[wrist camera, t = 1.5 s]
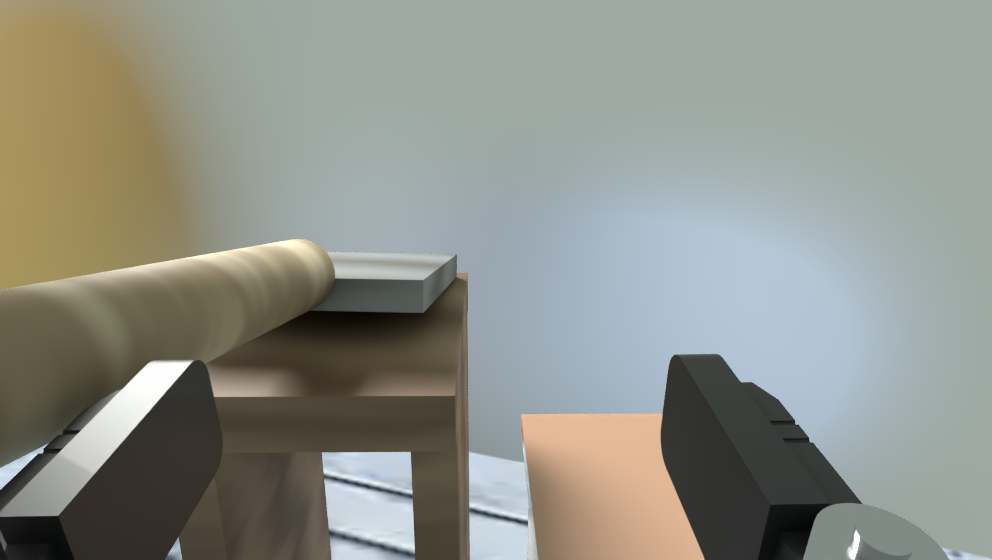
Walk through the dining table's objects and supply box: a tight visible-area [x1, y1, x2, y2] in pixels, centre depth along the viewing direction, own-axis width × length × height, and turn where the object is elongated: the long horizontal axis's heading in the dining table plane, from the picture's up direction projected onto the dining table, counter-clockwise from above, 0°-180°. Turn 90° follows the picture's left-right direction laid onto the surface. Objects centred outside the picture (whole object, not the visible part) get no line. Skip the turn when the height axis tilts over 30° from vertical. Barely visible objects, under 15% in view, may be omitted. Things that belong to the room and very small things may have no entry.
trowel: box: [0, 239, 457, 468], centre depth 20 cm, size 24×9×3 cm, turn 177°
